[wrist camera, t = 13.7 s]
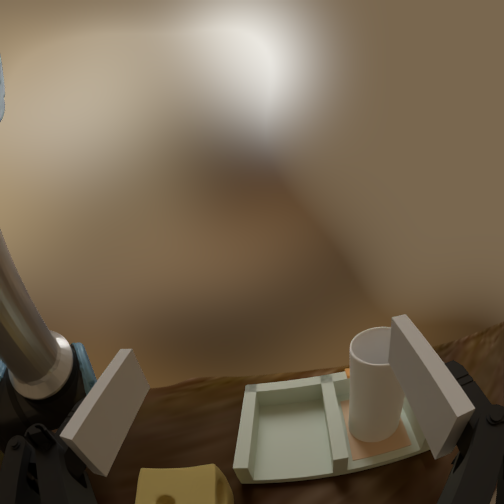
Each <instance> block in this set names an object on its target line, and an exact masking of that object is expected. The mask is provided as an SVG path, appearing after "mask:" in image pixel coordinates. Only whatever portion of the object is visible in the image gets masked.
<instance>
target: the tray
mask: <svg viewBox="0 0 504 504" xmlns="http://www.w3.org/2000/svg"><path fill="white" fill-rule="evenodd" d="M349 396H350V368H347V369H345V372H340V373H335V374H329V375H323V376H317V377H311V378H304V379H298V380H290V381H282V382H273V383H264V384H253V385H246V387H245V394H244V400H243V407H242V413H241V420H240V426H239V433H238V439H237V445H236V452H235V458H234V464H233V469H234V471H235V473H236V475H237V477H238V478H239V480H240V482H241V484H255V483H279V482H292V481H302V480H311V479H318V478H325V477H331V476H337V475H343V474H348V473H353V472H357V471H362V470H366V469H370V468H374V467H378V466H382V465H385V464H389V463H392V462H396V461H399V460H402V459H405V458H408V457H411V456H414V455H417V454H420V453H422V452H425V451H428V450H430V447H429V445H428V443H427V440H426V438H425V436H424V434H423V431H422V429H421V427H420V425H419V423H418V421H417V418H416V416H415V414H414V412H413V410H412V408H411V406H410V404H409V402H408V400H407V398H406V396H405V398H404V403H403V408H402V412H401V416H400V420H399V424H398V427H397V429H396V431H395V432H394V433H393V434H392V435H391V436H390V437H388V438H387V439H385V440H382V441H379V442H363V441H360V440H358V439H356V438H355V437H354V436H353V435H352V434H351V433H350V431H349V427H348V422H349Z"/></svg>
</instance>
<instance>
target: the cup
mask: <svg viewBox="0 0 504 504" xmlns="http://www.w3.org/2000/svg"><path fill="white" fill-rule="evenodd" d="M390 337H391V327H377V328H371V329H368V330H365V331H363V332H361V333H359V334H358V335H357V336H355V337H354V339H353V340H352V341H351V344H350V396H349V422H348V427H349V431H350V433H351V434H352V435H353V436H354V437H355V438H356V439H358V440H360V441H363V442H379V441H382V440H385V439H387V438H388V437H390V436H391V435H392V434H393V433H394V432H395V431H396V429H397V427H398V424H399V420H400V416H401V412H402V408H403V403H404V398H405V394H404V392H403V390H402V388H401V386H400V384H399V382H398V380H397V378H396V376H395V374H394V372H393V370H392V368H391V366H390V364H389V362H388V358H389V348H390Z"/></svg>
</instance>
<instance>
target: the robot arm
mask: <svg viewBox="0 0 504 504" xmlns="http://www.w3.org/2000/svg"><path fill="white" fill-rule="evenodd" d="M4 96H5V88H4V78H3V69H2V62H1V56H0V122H1V120H2V118H3V115H4V110H5V102H4ZM388 362H389V364H390V366H391V368H392V370H393V372H394V374H395V376H396V378H397V380H398V382H399V384H400V386H401V388H402V390H403V392H404V394H405V396H406V398H407V400H408V402H409V404H410V406H411V408H412V410H413V412H414V414H415V416H416V418H417V421H418V423H419V425H420V427H421V429H422V431H423V434H424V436H425V438H426V440H427V443H428V445H429V447H430V450H431V452H432V454H433V457H434V459H438V458H440V457H442V456H445V455H447V454H449V453H451V452H452V451H453V449H454V447H455V446H456V445H457V447H458V449H459V452H458V454H457V455H456V457H455V458H454V460H453V462H452V463H451V464H454V465H453V468H452V470H451V473H450V475H449V478H448V480H447V482H446V485H445V487H444V489H443V492H442V494H441V496H440V498H439V500H438V502H437V504H490V501H491V498H492V495H493V492H494V489H495V486H496V482H497V479H498V483H497V496H496V504H504V407H503V406H500V405H497V404H496V405H492V404H491V403H490V402H489V400H488V399H487V397H486V396H485V395H484V393H483V392H482V391H481V389H480V388H479V386H478V385H477V384H476V382H475V381H473V379H472V377H471V376H470V375H469V373H468V372H467V371H466V369H465V368H464V367H463V366H462V365H460V364H459V363H457V362H455V361H454V360H453V361H450V362H448V363H445V364H444V363H443V361H442V360H441V359H440V357H439V356H438V355H437V353H436V352H435V351H434V349H433V348H432V347H431V345H430V344H429V343H428V342H427V340H426V339H425V338H424V337H423V335H422V334H421V333H420V331H419V330H418V329H417V328H416V326H415V325H414V324H413V323H412V321H411V320H410V319H409V318H408V317H407V315H406V314H405V315H400V316H396V317H392V323H391V337H390V348H389V358H388ZM149 388H150V386H149V384H148V382H147V380H146V378H145V376H144V374H143V372H142V370H141V367H140V366H139V363H138V361H137V359H136V357H135V354H134V352H133V350H132V349H121V350H120V351H119V352H118V353H117V355H116V356H115V357H114V359H113V360H112V361H111V363H110V364H109V365H108V367H107V368H106V370H105V371H104V372H103V374H102V375H101V376H100V378H99V379H98V381H97V380H96V377H95V374H94V371H93V369H92V366H91V363H90V361H89V358H88V355H87V353H86V350H85V348H84V346H83V344H82V343H72V344H71V345H69V343H68V341H67V340H66V339H65V338H64V337H63V336H62V335H60V334H59V333H57V332H54V331H50V330H48V328H47V326H46V324H45V323H44V321H43V319H42V318H41V316H40V314H39V312H38V311H37V309H36V307H35V305H34V303H33V302H32V300H31V298H30V296H29V294H28V292H27V290H26V288H25V286H24V284H23V282H22V280H21V278H20V276H19V274H18V271H17V269H16V267H15V265H14V262H13V260H12V258H11V255H10V253H9V250H8V248H7V245H6V243H5V241H4V238H3V235H2V232H1V230H0V450H1V451H2V452H3V453H4V458H3V462H2V467H1V471H0V504H97V501H96V498H95V496H94V493H93V490H92V487H91V483H90V480H89V477H88V474H87V472H86V471H85V468H86V466H87V467H88V468H89V469H90V470H91V471H92V472H93V473H95V474H98V475H102V476H105V477H107V475H108V472H109V470H110V468H111V466H112V464H113V462H114V460H115V457H116V455H117V453H118V451H119V449H120V447H121V445H122V443H123V441H124V439H125V437H126V435H127V432H128V430H129V428H130V426H131V424H132V422H133V420H134V418H135V416H136V414H137V412H138V410H139V408H140V406H141V404H142V402H143V400H144V398H145V396H146V394H147V392H148V390H149ZM58 428H59V429H58ZM54 429H58V430H57V432H56V433H53V432H52V431H51V430H54Z"/></svg>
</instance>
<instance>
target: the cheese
mask: <svg viewBox="0 0 504 504" xmlns="http://www.w3.org/2000/svg"><path fill="white" fill-rule="evenodd" d="M135 504H234V496H233V493H232V490H231V488H230V485H229V483H228V481H227V479H226V477H225V476H224V474H223V473H222V472H221V471H220V469H219V468H218V467H217V466H216V465H215V464H208V465H202V466H196V467H189V468H171V469H151V468H141V470H140V474H139V479H138V486H137V494H136V501H135Z"/></svg>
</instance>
